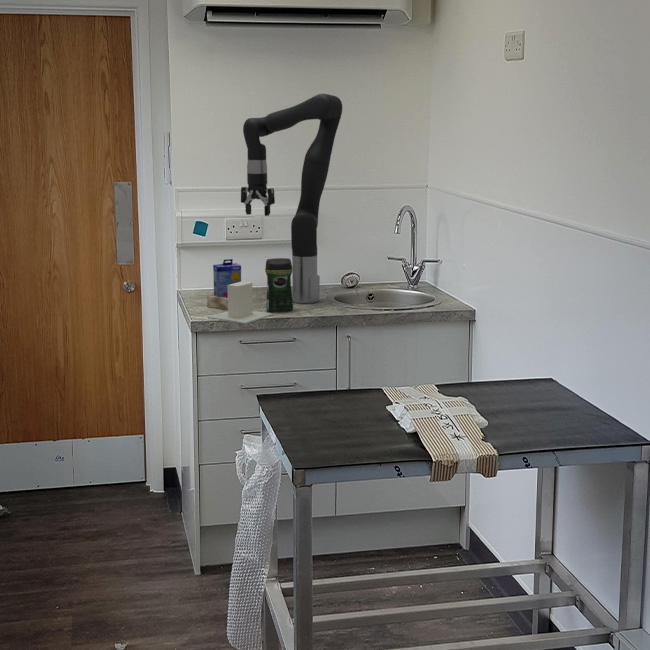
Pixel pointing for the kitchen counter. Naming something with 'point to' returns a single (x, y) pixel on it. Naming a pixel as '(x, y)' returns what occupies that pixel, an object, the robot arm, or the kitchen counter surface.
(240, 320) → the sage mat
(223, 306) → the divider rack
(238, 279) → the ink cartridge box
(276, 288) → the coffee jar
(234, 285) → the block
